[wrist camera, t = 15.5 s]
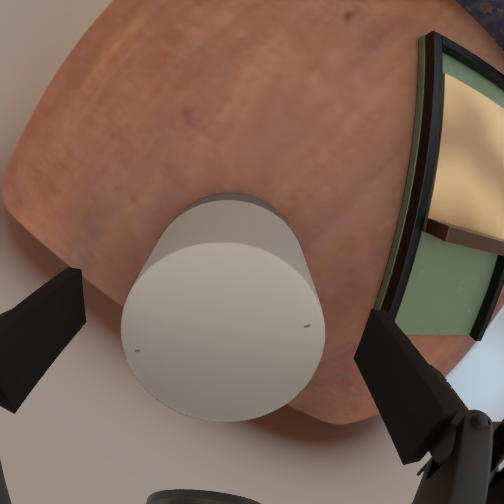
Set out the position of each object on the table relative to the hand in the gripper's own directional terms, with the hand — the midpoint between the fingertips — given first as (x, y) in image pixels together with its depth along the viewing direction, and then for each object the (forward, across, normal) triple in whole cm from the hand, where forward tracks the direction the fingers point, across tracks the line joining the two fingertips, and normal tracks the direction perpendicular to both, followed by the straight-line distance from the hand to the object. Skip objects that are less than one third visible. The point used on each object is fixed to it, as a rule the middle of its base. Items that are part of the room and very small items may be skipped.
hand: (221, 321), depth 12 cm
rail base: (+12, +21, +8) cm, 25 cm away
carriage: (+11, +21, +11) cm, 26 cm away
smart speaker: (+12, 0, 0) cm, 12 cm away
